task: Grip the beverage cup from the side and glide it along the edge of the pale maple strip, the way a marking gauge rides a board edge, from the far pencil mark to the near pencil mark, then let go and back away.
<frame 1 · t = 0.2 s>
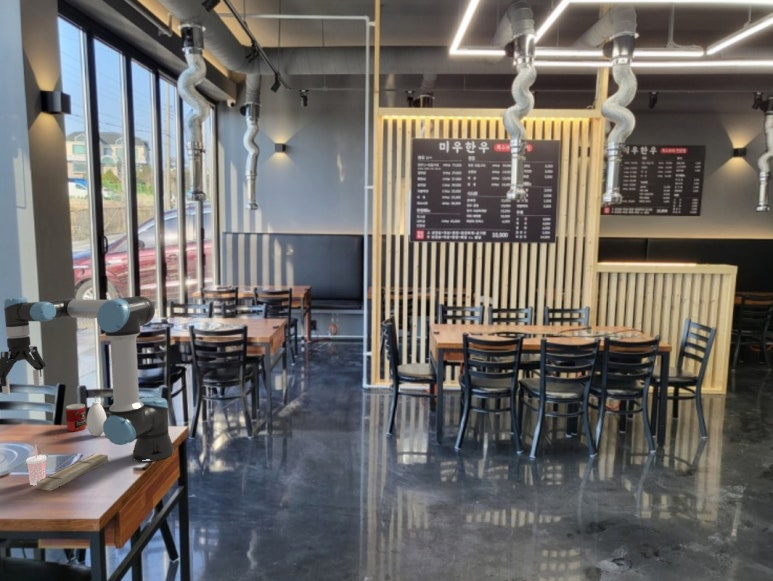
hand: (22, 390, 208), 27 cm above the table, tool pointing down, fingers open, 13 cm apart
canned food: (76, 429, 243), on the table
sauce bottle: (97, 436, 234), on the table
beverage cup: (37, 483, 187), on the table
maple strip: (74, 474, 194), on the table
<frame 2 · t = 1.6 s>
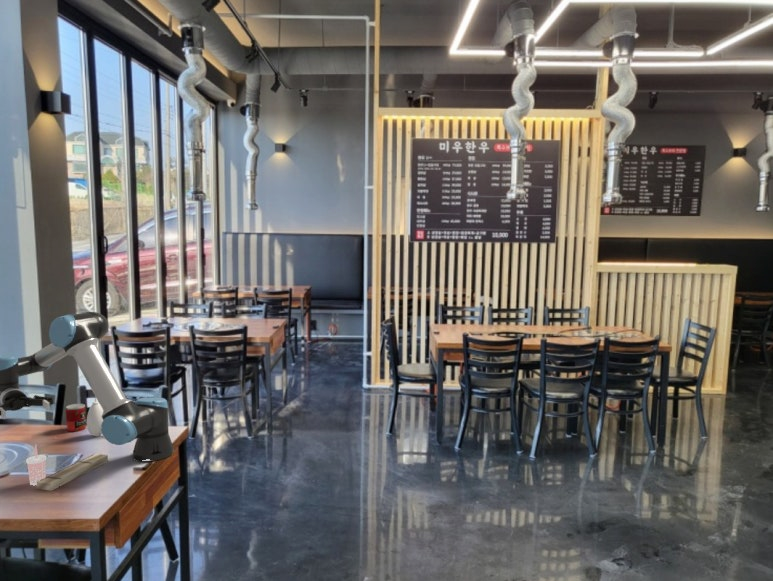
hand: (27, 410, 192), 24 cm above the table, tool horizontal, fingers open, 13 cm apart
nothing on the table moved.
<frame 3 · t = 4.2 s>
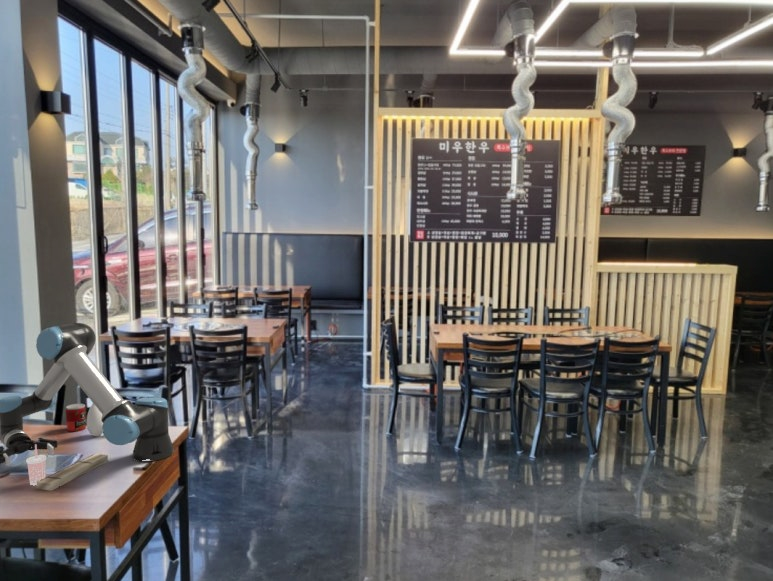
hand: (31, 456, 189), 8 cm above the table, tool horizontal, fingers open, 13 cm apart
nothing on the table moved.
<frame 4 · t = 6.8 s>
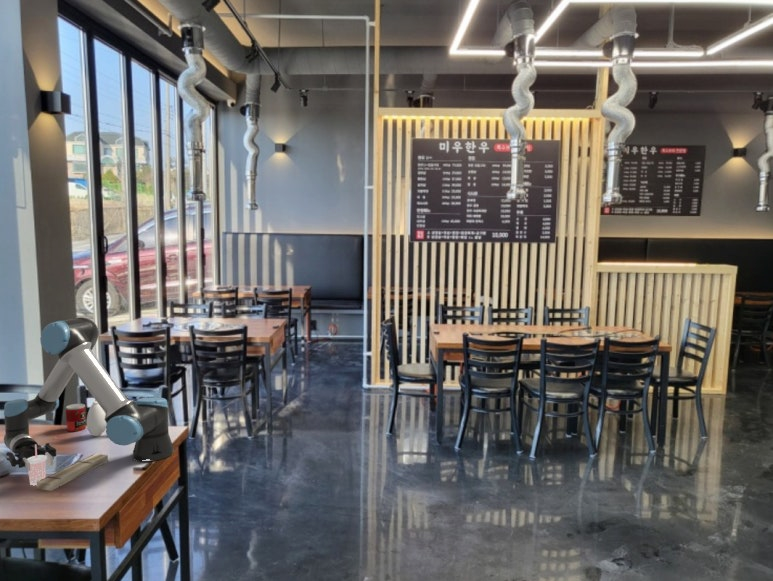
hand: (40, 463, 183), 8 cm above the table, tool horizontal, fingers closed on beverage cup, 6 cm apart
beverage cup: (37, 483, 187), on the table, touching gripper
everything else where it was.
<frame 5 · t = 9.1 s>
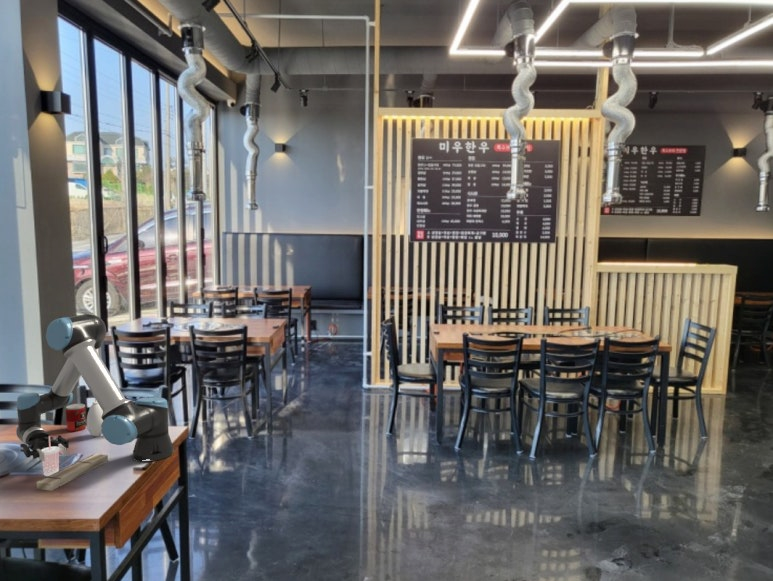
hand: (54, 454, 189), 9 cm above the table, tool horizontal, fingers closed on beverage cup, 6 cm apart
beverage cup: (51, 473, 193), point 1 cm above the table, touching gripper
everything else where it was.
when the fingers open (9 cm above the table, at t = 11.6 s): beverage cup stays where it is, on the table.
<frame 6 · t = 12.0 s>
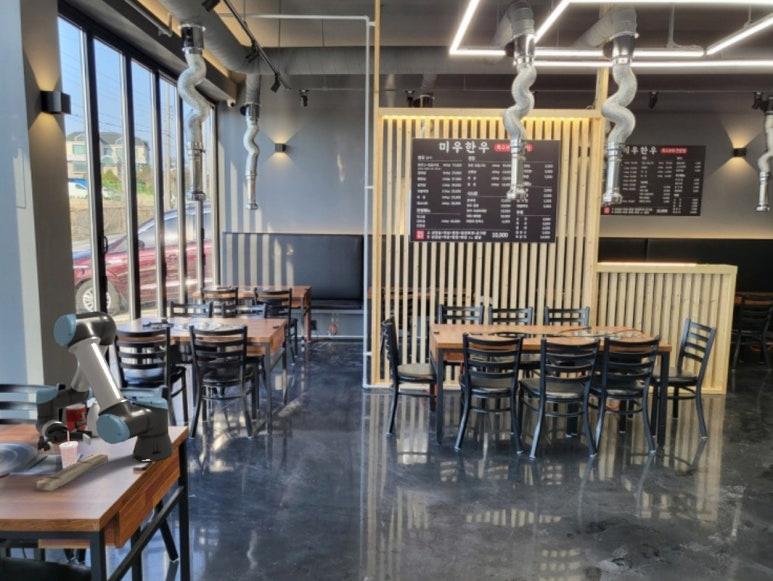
hand: (72, 445, 197), 9 cm above the table, tool horizontal, fingers open, 11 cm apart
beverage cup: (69, 467, 200), on the table
everything else where it was.
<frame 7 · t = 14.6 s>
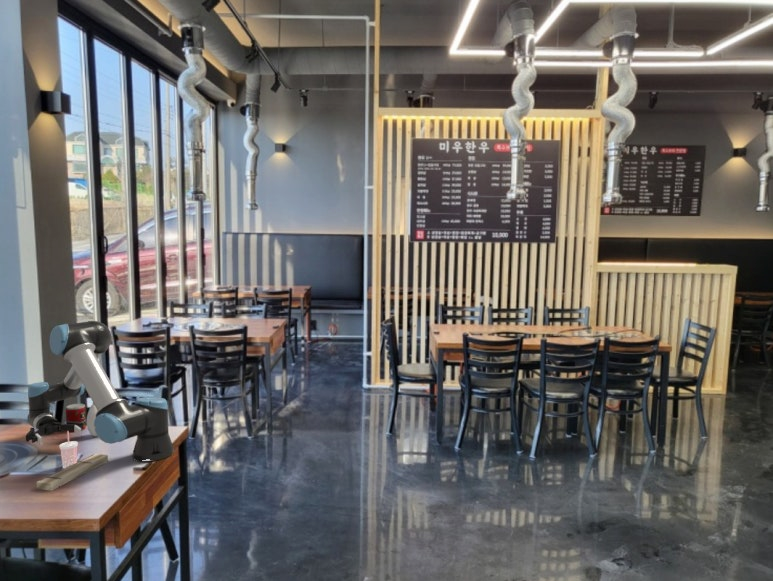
hand: (61, 436, 206), 9 cm above the table, tool horizontal, fingers open, 13 cm apart
nothing on the table moved.
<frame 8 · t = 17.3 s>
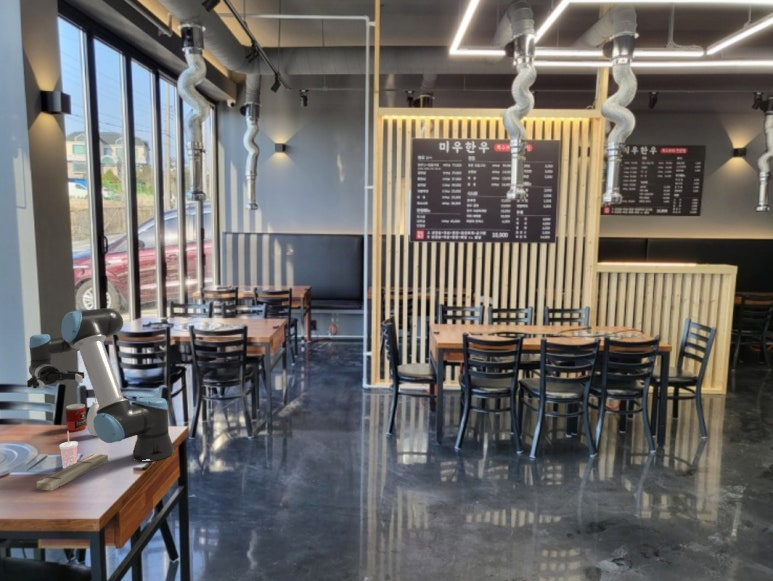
hand: (62, 382, 209), 30 cm above the table, tool horizontal, fingers open, 13 cm apart
nothing on the table moved.
at the end: beverage cup inside the target area (0.1 cm from its centre), on the table; beverage cup tilted 0°; the gripper is holding nothing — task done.
